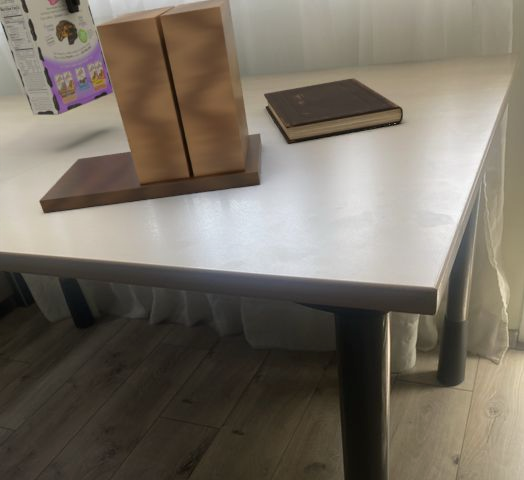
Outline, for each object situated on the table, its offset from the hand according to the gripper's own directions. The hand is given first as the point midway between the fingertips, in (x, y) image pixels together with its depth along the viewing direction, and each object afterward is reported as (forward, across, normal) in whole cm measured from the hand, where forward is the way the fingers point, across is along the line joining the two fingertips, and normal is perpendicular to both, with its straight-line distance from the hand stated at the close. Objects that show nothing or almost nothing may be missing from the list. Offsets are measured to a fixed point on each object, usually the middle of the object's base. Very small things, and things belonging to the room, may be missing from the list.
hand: (47, 15), depth 80 cm
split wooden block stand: (+18, +18, -26) cm, 36 cm away
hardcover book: (+18, +40, -7) cm, 45 cm away
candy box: (+13, 0, 0) cm, 13 cm away
